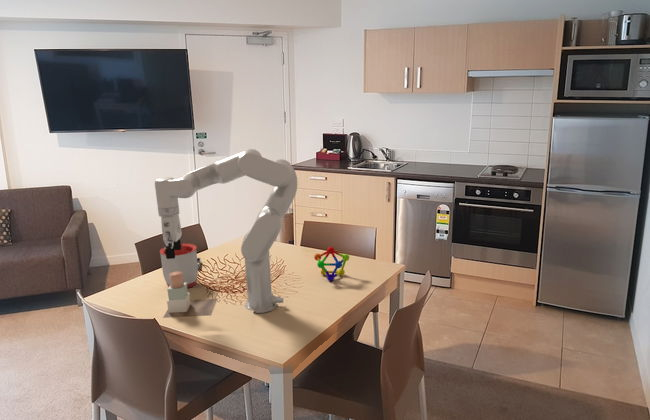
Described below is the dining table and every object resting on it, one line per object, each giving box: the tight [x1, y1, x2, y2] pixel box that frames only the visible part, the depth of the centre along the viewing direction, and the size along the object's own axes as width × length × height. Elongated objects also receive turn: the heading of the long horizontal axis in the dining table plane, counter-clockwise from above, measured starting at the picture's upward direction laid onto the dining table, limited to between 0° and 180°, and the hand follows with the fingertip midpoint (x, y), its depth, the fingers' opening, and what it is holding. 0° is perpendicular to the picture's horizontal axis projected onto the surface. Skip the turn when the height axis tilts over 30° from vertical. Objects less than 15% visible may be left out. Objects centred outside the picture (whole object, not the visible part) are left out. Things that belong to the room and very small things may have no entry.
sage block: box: [167, 283, 189, 300], centre depth 204 cm, size 6×6×4 cm
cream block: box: [166, 292, 191, 313], centre depth 205 cm, size 7×7×5 cm
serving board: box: [162, 298, 218, 318], centre depth 206 cm, size 18×15×1 cm
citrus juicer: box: [159, 243, 199, 289], centre depth 230 cm, size 16×17×20 cm
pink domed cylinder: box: [169, 271, 184, 288], centre depth 202 cm, size 5×5×5 cm
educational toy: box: [313, 246, 350, 282], centre depth 231 cm, size 16×13×15 cm
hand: (174, 254), depth 200 cm, fingers open, 9 cm apart
